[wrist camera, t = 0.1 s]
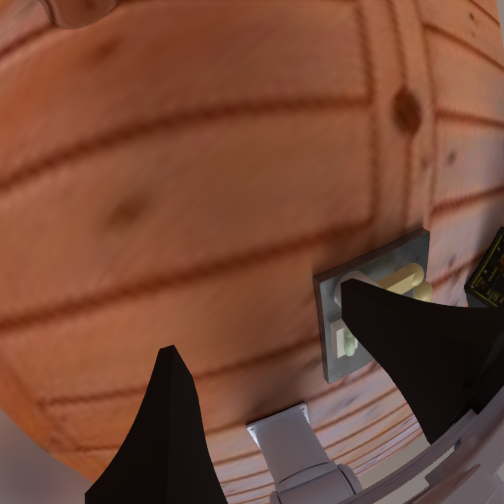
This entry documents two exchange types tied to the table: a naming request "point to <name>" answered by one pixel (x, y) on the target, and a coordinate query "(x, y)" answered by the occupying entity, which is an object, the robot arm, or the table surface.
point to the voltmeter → (488, 277)
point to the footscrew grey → (387, 280)
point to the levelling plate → (375, 268)
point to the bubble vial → (342, 339)
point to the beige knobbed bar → (423, 291)
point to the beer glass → (76, 11)
